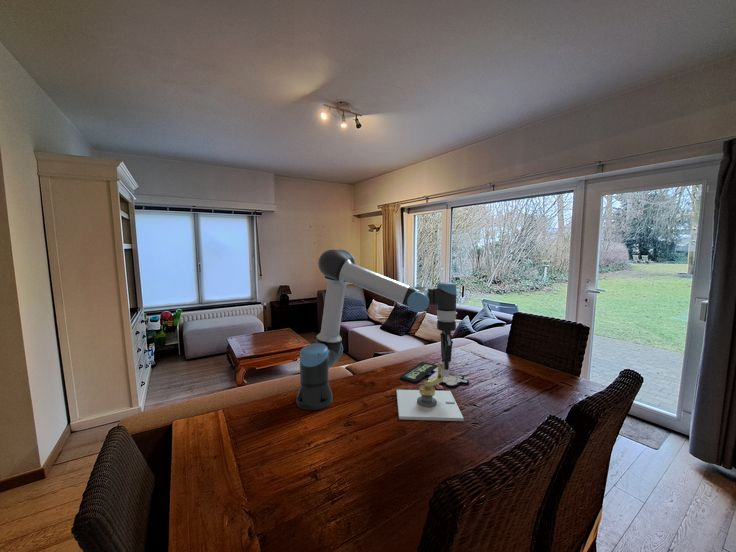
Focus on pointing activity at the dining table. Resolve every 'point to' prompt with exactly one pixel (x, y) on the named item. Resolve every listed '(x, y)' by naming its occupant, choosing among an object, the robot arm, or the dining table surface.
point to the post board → (427, 406)
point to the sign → (432, 376)
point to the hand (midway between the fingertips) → (445, 376)
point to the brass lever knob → (431, 383)
